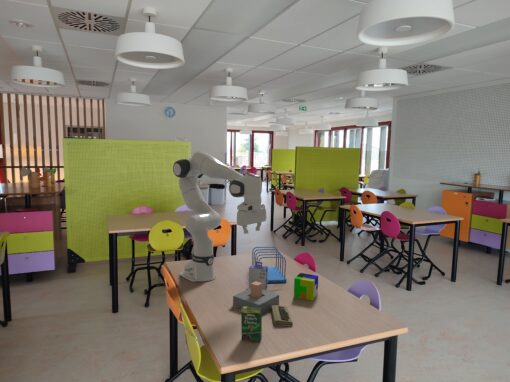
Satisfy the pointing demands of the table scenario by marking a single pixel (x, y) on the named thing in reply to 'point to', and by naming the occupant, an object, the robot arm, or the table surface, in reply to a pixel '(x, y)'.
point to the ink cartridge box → (258, 275)
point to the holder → (256, 300)
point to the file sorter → (273, 272)
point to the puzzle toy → (306, 286)
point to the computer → (281, 316)
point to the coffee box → (251, 324)
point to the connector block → (256, 290)
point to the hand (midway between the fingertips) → (251, 232)
